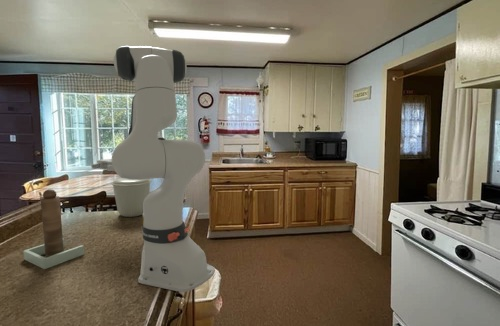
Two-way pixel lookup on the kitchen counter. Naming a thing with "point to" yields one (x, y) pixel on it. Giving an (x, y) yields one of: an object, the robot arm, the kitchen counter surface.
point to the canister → (130, 195)
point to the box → (35, 258)
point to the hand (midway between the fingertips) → (99, 167)
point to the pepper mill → (51, 223)
